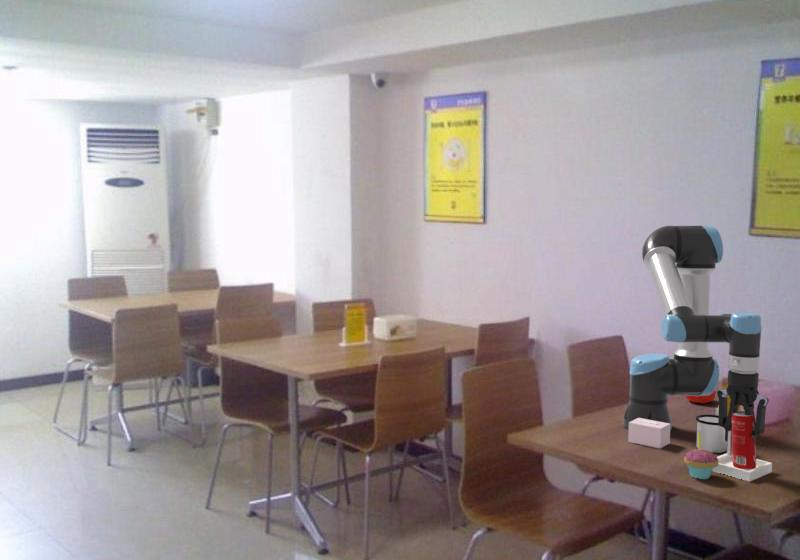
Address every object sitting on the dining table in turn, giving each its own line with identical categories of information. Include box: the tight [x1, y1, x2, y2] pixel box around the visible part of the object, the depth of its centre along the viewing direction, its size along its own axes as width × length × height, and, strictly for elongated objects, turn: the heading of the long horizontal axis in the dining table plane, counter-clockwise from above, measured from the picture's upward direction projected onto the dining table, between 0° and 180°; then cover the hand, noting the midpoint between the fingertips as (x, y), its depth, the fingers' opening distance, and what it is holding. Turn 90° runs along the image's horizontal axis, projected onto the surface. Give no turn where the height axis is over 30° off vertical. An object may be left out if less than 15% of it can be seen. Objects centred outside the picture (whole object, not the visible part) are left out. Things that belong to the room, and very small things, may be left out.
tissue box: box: [627, 418, 671, 449], centre depth 240 cm, size 10×7×6 cm
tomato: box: [685, 389, 717, 405], centre depth 289 cm, size 11×11×8 cm
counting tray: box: [712, 452, 773, 482], centre depth 215 cm, size 12×12×2 cm
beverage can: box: [732, 410, 757, 470], centre depth 214 cm, size 6×6×15 cm
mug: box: [695, 414, 728, 454], centre depth 234 cm, size 12×10×9 cm
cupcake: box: [683, 432, 718, 480], centre depth 211 cm, size 9×8×12 cm
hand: (739, 455), depth 215 cm, fingers closed on beverage can, 4 cm apart
